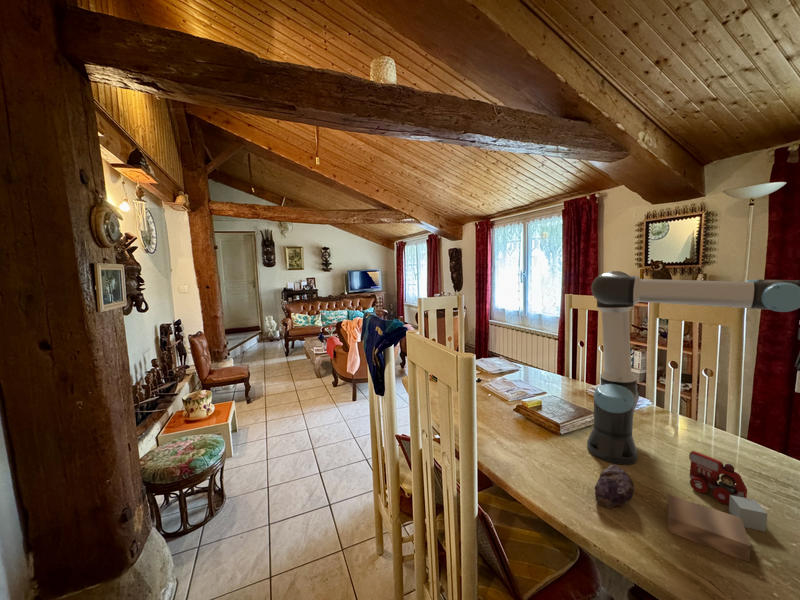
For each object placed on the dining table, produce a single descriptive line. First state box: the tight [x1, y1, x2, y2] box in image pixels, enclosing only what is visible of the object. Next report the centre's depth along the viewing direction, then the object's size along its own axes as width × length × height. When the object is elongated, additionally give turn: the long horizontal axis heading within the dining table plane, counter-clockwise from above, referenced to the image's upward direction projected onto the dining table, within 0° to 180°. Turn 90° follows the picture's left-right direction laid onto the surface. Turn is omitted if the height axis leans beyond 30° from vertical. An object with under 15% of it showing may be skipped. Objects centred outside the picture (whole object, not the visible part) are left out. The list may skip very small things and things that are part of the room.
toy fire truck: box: [688, 450, 748, 505], centre depth 93 cm, size 7×12×10 cm, turn 28°
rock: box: [594, 464, 636, 509], centre depth 92 cm, size 12×9×10 cm
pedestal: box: [666, 494, 751, 563], centre depth 80 cm, size 14×10×4 cm
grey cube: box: [728, 495, 768, 533], centre depth 83 cm, size 5×5×5 cm
